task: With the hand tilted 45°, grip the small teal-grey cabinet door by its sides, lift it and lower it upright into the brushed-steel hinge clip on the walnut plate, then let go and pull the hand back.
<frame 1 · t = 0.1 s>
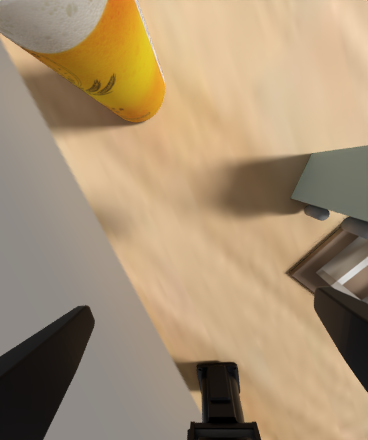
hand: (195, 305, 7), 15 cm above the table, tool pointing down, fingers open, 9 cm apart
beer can: (137, 92, 18), on the table
cabinet door: (317, 181, 19), on the table
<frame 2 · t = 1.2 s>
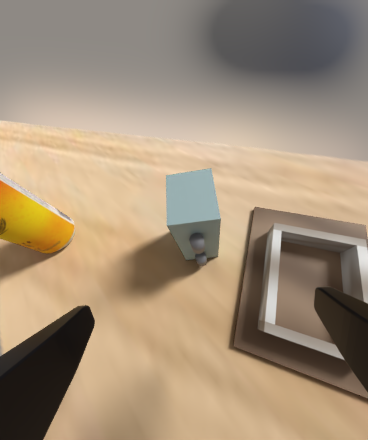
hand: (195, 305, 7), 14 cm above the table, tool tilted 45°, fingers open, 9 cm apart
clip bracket: (302, 281, 18), on the table
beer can: (60, 236, 26), on the table
cabinet door: (199, 239, 22), on the table
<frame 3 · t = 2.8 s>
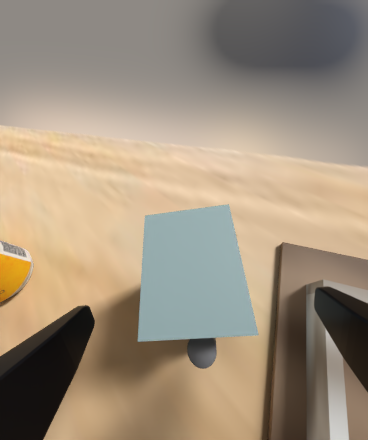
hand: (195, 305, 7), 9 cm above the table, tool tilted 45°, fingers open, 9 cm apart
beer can: (14, 275, 20), on the table
cabinet door: (203, 290, 15), on the table
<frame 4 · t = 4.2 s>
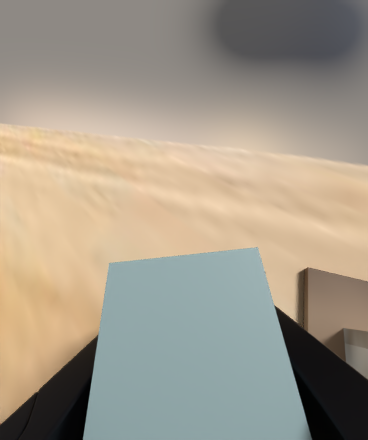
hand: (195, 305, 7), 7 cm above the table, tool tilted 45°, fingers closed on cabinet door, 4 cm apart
cabinet door: (206, 330, 12), on the table, touching gripper
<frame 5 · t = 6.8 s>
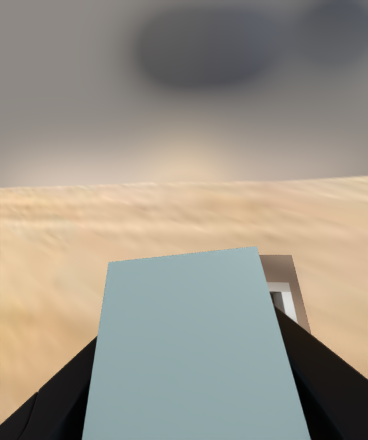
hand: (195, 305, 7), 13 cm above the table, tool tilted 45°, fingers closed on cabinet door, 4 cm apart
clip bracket: (243, 335, 17), on the table
cabinet door: (206, 329, 12), point 7 cm above the table, touching gripper
when the fingers open (9 cm above the table, at t = 9.2 s): cabinet door drops 1 cm, resting on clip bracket.
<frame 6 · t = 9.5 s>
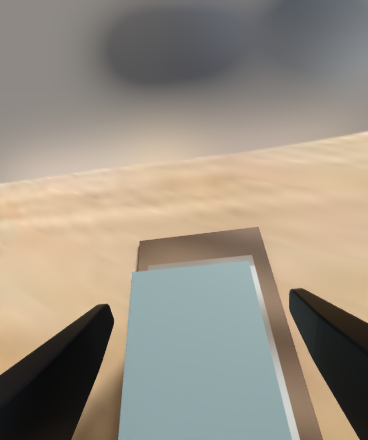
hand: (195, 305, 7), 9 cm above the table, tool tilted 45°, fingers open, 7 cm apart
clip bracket: (207, 327, 14), on the table
cabinet door: (207, 327, 13), point 1 cm above the table, touching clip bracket
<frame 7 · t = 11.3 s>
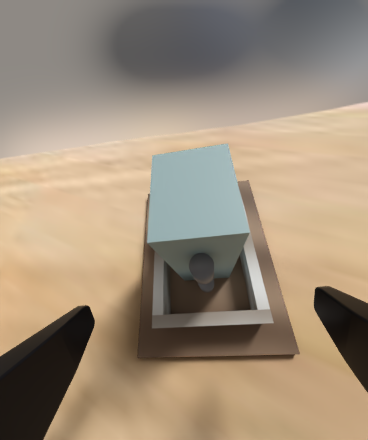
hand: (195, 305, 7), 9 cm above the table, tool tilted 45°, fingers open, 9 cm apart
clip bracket: (203, 254, 17), on the table
cabinet door: (203, 252, 17), point 1 cm above the table, touching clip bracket
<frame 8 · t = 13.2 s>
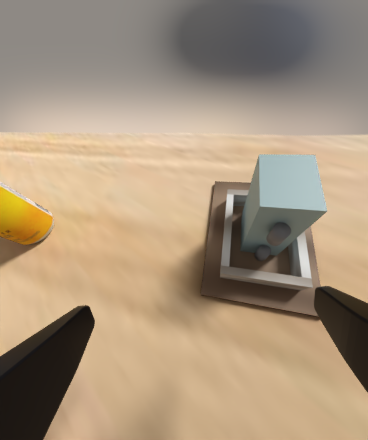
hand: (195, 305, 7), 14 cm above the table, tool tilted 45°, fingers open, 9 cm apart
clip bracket: (256, 235, 22), on the table
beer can: (40, 229, 28), on the table
cabinet door: (257, 233, 21), point 1 cm above the table, touching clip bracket
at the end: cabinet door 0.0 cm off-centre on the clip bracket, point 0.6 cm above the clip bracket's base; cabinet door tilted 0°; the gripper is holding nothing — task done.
